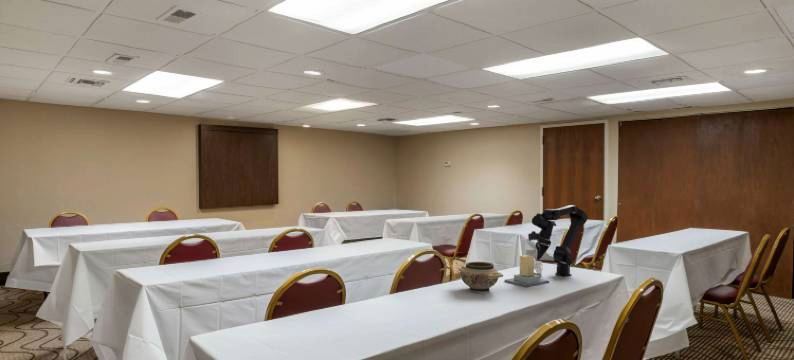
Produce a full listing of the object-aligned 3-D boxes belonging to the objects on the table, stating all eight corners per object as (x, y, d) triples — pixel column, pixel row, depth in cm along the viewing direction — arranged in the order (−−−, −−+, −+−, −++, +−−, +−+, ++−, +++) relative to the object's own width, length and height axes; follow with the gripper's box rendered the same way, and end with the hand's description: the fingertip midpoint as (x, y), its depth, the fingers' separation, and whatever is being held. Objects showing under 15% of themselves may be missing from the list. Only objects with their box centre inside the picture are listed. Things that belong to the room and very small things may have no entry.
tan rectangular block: (525, 278, 240) (526, 255, 240) (533, 280, 236) (533, 256, 236) (519, 279, 238) (519, 255, 237) (527, 281, 233) (527, 257, 233)
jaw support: (548, 267, 258) (544, 258, 252) (545, 281, 253) (541, 271, 247) (527, 265, 265) (523, 256, 259) (524, 278, 260) (519, 269, 254)
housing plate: (527, 277, 248) (527, 271, 248) (548, 282, 236) (548, 275, 236) (504, 281, 238) (504, 274, 238) (525, 287, 226) (525, 280, 226)
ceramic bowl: (508, 299, 214) (513, 267, 217) (485, 295, 203) (491, 262, 206) (468, 289, 233) (473, 260, 235) (445, 285, 222) (451, 255, 224)
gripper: (529, 229, 257) (522, 256, 254) (532, 223, 239) (525, 252, 236) (549, 235, 254) (542, 262, 251) (554, 230, 236) (546, 259, 233)
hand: (538, 259), depth 243 cm, fingers open, 9 cm apart
